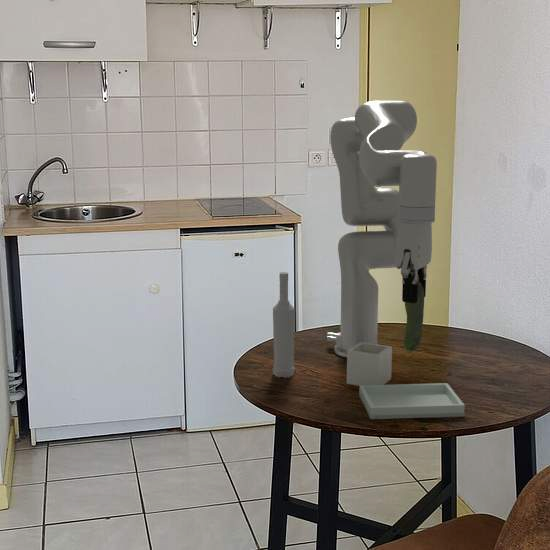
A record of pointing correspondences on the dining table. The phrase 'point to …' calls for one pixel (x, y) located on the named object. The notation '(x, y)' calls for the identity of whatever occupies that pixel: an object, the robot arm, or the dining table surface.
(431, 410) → the tray
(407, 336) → the vegetable
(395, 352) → the dining table surface
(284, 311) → the bottle
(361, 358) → the grey square open box
